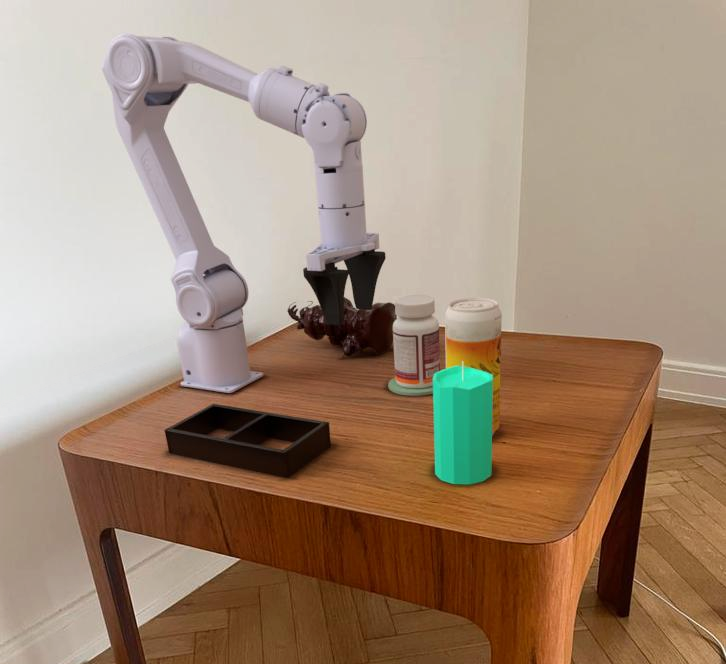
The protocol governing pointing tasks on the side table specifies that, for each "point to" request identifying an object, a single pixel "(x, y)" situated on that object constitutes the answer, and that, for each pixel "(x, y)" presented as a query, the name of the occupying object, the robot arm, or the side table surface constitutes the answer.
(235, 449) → the tray
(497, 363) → the beer can
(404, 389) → the mat
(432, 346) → the pill bottle
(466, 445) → the candle
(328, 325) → the figurine
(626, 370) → the side table surface
